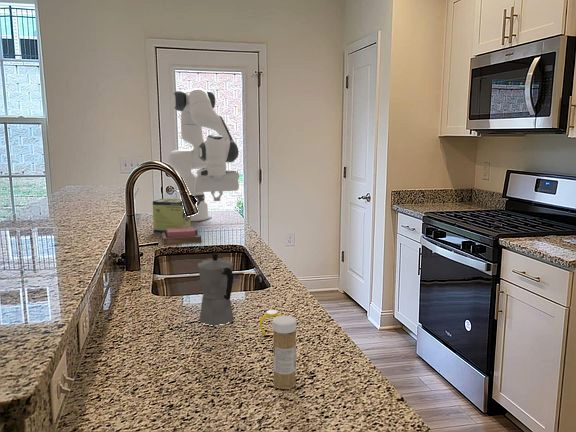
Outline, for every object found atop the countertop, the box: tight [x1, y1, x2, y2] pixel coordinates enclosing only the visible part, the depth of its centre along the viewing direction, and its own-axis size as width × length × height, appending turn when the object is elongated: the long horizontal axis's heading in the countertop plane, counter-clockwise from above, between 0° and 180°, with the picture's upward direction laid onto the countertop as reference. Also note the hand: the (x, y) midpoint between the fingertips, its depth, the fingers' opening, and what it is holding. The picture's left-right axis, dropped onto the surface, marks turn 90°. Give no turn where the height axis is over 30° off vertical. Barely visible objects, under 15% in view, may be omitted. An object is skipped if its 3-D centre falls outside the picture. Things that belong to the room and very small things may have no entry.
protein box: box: [152, 198, 192, 234], centre depth 233 cm, size 10×16×16 cm
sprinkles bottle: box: [271, 315, 298, 390], centre depth 90 cm, size 5×5×13 cm
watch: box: [259, 309, 283, 335], centre depth 114 cm, size 6×3×6 cm, turn 101°
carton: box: [166, 226, 196, 238], centre depth 215 cm, size 9×12×5 cm
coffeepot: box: [197, 252, 235, 325], centre depth 121 cm, size 15×9×18 cm, turn 35°
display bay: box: [161, 229, 202, 245], centre depth 216 cm, size 15×16×2 cm
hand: (217, 200), depth 218 cm, fingers closed
